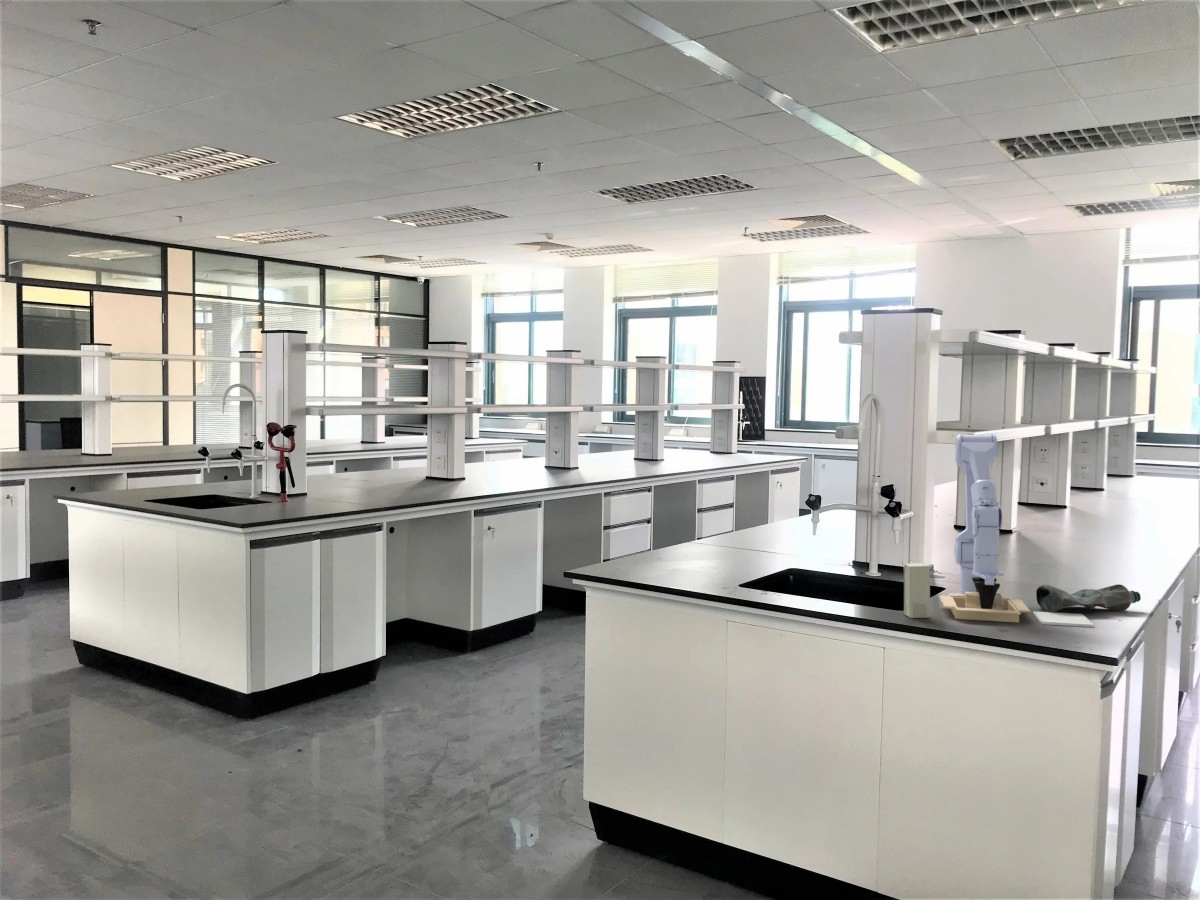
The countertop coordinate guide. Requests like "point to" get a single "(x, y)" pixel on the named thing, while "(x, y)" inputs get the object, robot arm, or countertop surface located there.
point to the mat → (1063, 619)
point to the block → (974, 601)
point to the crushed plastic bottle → (1087, 598)
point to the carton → (1007, 614)
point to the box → (917, 590)
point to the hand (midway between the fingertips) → (985, 608)
